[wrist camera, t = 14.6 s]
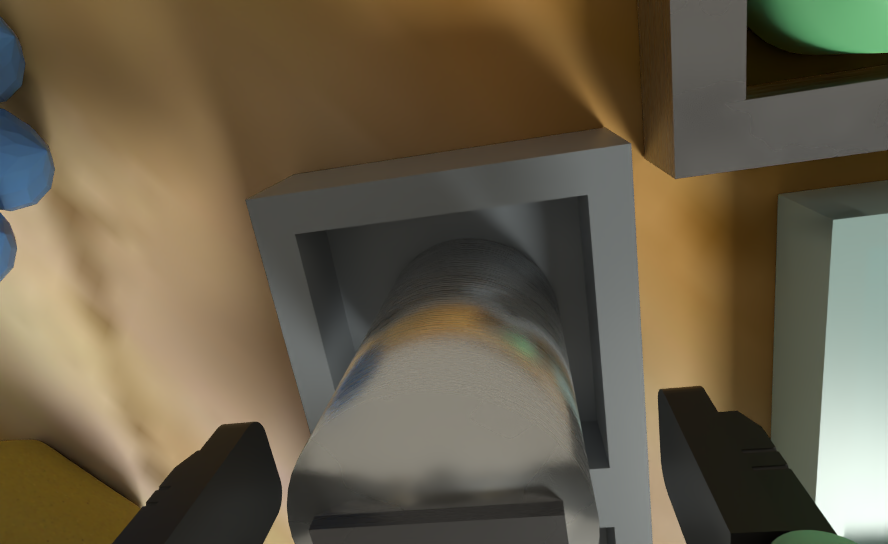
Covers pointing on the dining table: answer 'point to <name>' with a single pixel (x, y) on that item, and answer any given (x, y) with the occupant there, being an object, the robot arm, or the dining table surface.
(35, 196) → the grapes
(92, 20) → the dining table surface
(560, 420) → the cylinder
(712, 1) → the grey button housing
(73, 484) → the flower pot
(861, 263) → the tray
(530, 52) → the dining table surface
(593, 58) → the dining table surface
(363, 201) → the tray
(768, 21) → the button
